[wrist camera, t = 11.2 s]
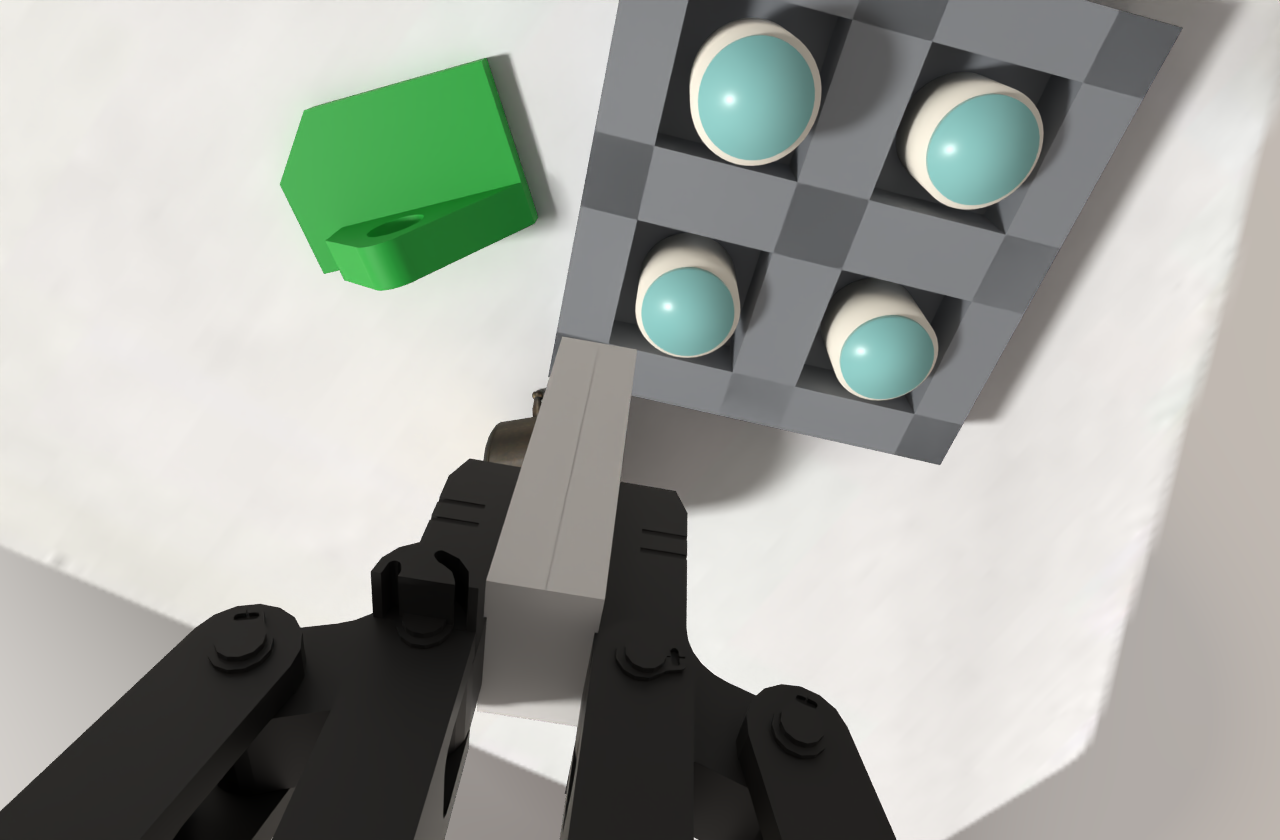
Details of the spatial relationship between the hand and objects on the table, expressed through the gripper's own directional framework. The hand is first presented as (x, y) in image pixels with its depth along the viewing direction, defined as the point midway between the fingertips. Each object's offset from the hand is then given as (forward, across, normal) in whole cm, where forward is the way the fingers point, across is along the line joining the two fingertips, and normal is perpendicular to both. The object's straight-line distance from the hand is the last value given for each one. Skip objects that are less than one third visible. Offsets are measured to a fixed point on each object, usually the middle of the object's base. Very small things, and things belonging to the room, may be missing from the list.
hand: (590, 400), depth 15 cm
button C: (+22, +4, +3) cm, 23 cm away
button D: (+24, +3, -7) cm, 25 cm away
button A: (+24, +14, +2) cm, 28 cm away
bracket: (+26, -12, -4) cm, 29 cm away
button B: (+24, +13, -8) cm, 28 cm away
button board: (+25, +9, -2) cm, 27 cm away
